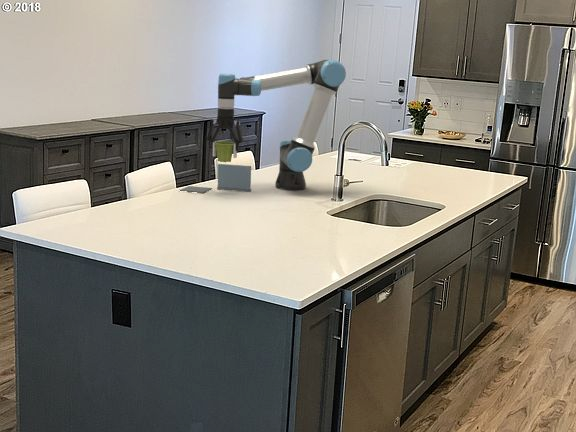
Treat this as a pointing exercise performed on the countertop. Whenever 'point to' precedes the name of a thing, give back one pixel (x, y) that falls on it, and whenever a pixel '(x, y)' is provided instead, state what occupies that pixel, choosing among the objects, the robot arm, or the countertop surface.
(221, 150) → the plant pot
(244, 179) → the screen
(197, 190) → the mat
